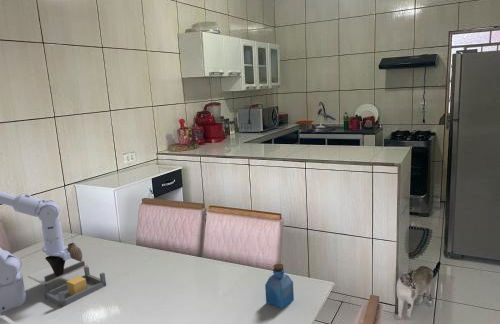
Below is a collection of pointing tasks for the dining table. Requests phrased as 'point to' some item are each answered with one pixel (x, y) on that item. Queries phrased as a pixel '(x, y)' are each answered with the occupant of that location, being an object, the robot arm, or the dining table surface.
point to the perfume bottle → (279, 288)
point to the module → (76, 285)
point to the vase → (74, 252)
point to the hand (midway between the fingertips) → (59, 275)
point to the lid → (48, 274)
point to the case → (63, 298)
